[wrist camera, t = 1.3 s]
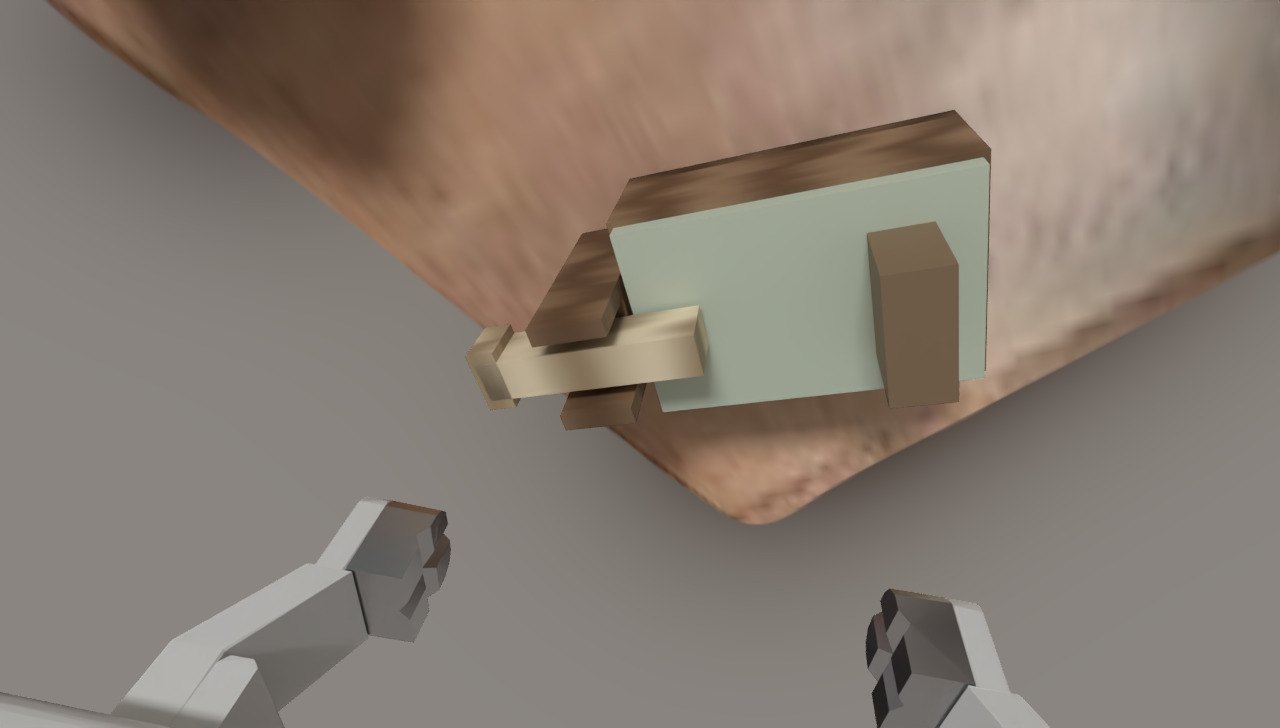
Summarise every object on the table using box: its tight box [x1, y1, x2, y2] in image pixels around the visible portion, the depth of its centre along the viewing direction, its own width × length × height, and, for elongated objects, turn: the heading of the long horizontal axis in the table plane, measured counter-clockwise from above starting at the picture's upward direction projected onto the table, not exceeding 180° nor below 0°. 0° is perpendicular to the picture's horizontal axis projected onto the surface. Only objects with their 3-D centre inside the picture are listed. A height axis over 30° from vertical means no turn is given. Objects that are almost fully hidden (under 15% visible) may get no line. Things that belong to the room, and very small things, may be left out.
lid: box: [610, 157, 990, 412], centre depth 32 cm, size 17×11×6 cm, turn 105°
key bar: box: [465, 305, 708, 410], centre depth 35 cm, size 12×4×3 cm, turn 105°
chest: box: [525, 110, 991, 430], centre depth 35 cm, size 22×12×12 cm, turn 105°
